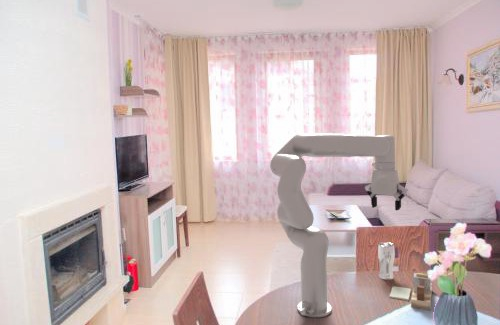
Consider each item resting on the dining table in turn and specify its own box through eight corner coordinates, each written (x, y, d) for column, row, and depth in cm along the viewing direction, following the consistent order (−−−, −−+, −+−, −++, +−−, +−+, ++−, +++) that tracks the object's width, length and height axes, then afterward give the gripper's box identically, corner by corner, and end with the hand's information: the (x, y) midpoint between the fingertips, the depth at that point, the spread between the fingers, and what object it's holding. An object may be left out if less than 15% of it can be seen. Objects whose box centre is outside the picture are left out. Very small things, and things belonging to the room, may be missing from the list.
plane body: (429, 310, 142) (430, 289, 141) (411, 306, 145) (411, 286, 144) (432, 290, 158) (432, 271, 157) (414, 287, 161) (415, 269, 160)
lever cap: (430, 294, 148) (430, 277, 147) (413, 291, 150) (413, 275, 150) (430, 289, 151) (430, 273, 151) (414, 287, 154) (414, 271, 153)
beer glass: (378, 279, 170) (378, 246, 169) (377, 273, 177) (377, 241, 175) (395, 281, 168) (395, 247, 167) (394, 274, 175) (394, 242, 173)
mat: (408, 300, 150) (408, 299, 150) (389, 297, 153) (389, 296, 153) (410, 290, 159) (410, 288, 158) (392, 287, 162) (392, 286, 162)
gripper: (360, 166, 157) (361, 207, 159) (402, 168, 145) (403, 213, 147) (369, 164, 162) (370, 204, 164) (410, 165, 151) (411, 208, 152)
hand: (385, 208), depth 156 cm, fingers open, 9 cm apart
